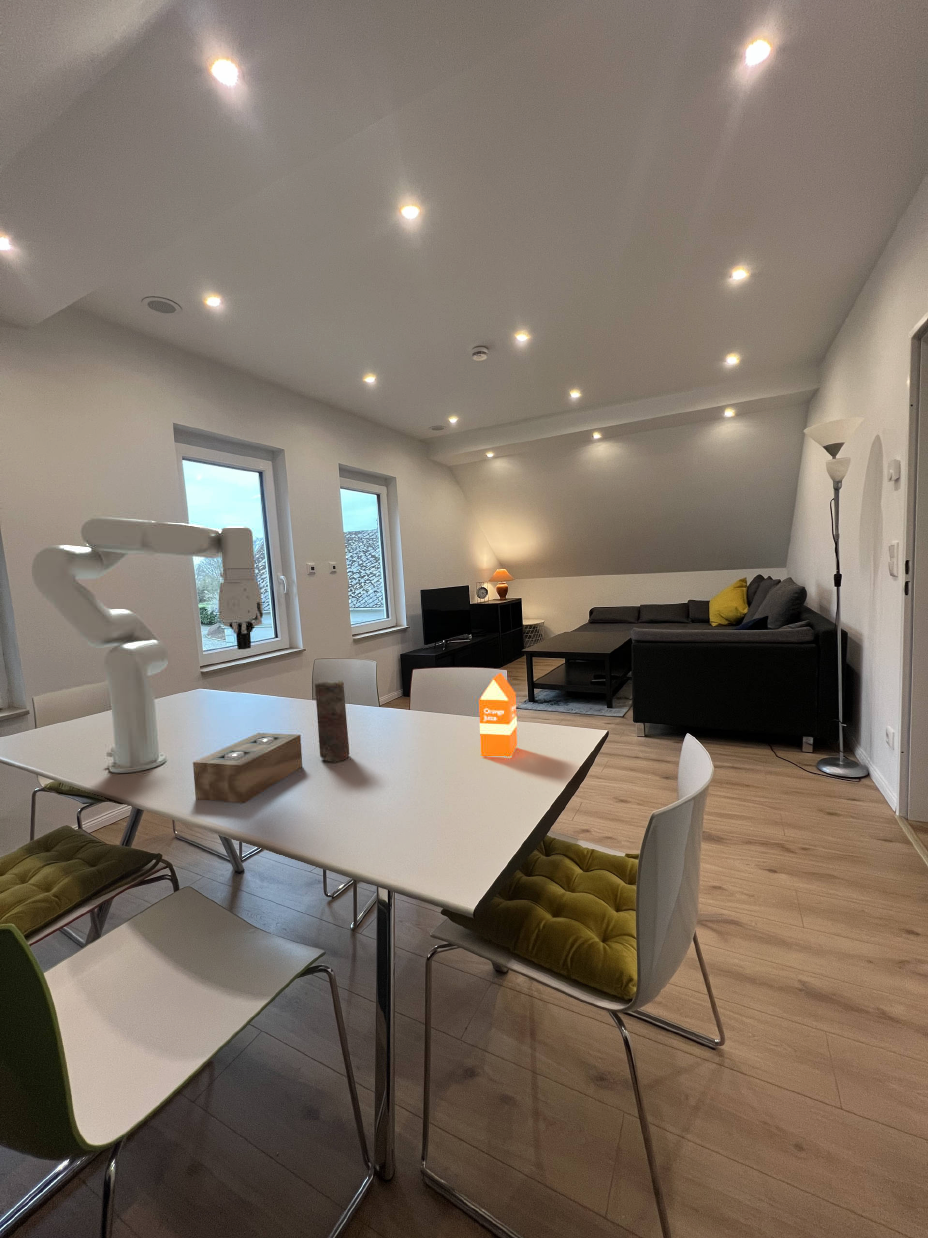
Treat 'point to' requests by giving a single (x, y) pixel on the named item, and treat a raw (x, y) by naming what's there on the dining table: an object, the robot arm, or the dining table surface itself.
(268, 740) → the peg
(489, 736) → the orange juice
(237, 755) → the peg
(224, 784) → the walnut block
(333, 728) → the weathered brick
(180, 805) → the dining table surface
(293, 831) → the dining table surface
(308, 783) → the dining table surface
